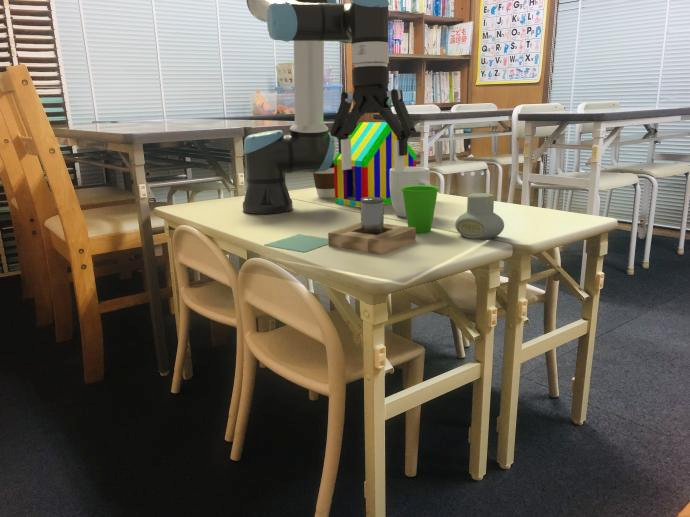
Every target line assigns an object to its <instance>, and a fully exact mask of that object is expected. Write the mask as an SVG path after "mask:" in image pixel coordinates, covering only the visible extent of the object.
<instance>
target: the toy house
mask: <svg viewBox="0 0 690 517" xmlns="http://www.w3.org/2000/svg"><path fill="white" fill-rule="evenodd" d="M348 137H349V138H348V139H351V164H352V169H347V170H342V163H341V154H339V152H338V153H337V154H336V156H334V158H333V160H334V179H335V197H334V203H335V204H338V205H344V206H349V205H350V207H357V208H361V198H365V197H381V198H383V205H386V204H392V201H391V196H390V169H391V168H394V140H397V136H396V135H395V134H394V132H393V131H392V129H391V128H390V127H389V125H388V124H387V122H386V121H385V122H381V121H379V122H378V121H377V122H375V121H374V122H373V121H372V122H371V121H370V122H369V121H365V122H364V121H363V122H359V123H358V125H357V126H356V128H355V129H353V131H352V132H351V133H350V135H349V136H348ZM335 162H336V164H335ZM404 167H417V154H416V153H415V151H414V150H413V148H412V147H411V146H410V145H409V144H408V153H407V155H405V156H404Z"/></svg>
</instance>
